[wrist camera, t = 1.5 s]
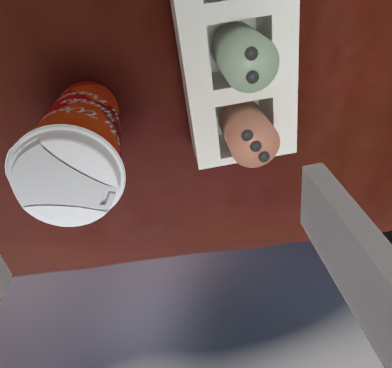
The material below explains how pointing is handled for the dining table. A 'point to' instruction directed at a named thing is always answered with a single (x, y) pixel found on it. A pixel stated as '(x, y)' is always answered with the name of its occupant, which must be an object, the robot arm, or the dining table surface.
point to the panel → (215, 81)
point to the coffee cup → (70, 159)
